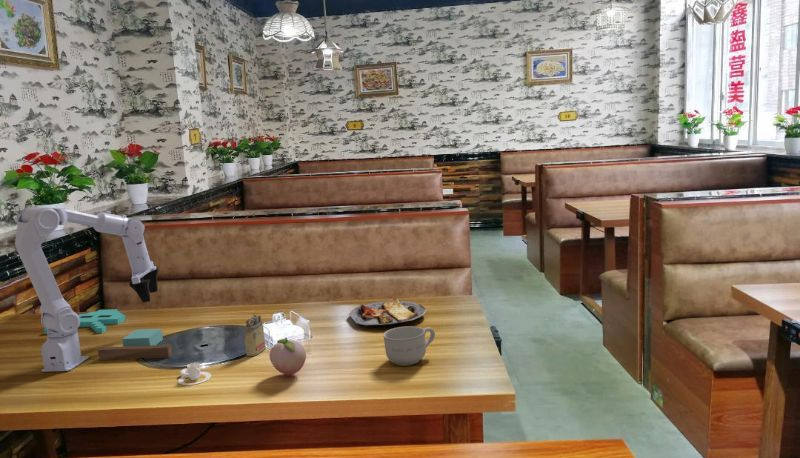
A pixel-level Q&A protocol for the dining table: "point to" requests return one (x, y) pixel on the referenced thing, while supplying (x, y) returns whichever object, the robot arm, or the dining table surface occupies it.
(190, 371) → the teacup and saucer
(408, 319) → the food plate
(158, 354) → the walnut board
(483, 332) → the dining table surface
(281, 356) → the decorative fruit
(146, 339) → the teal block
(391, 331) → the teacup
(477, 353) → the dining table surface
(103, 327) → the teal pixel cutout
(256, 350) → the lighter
